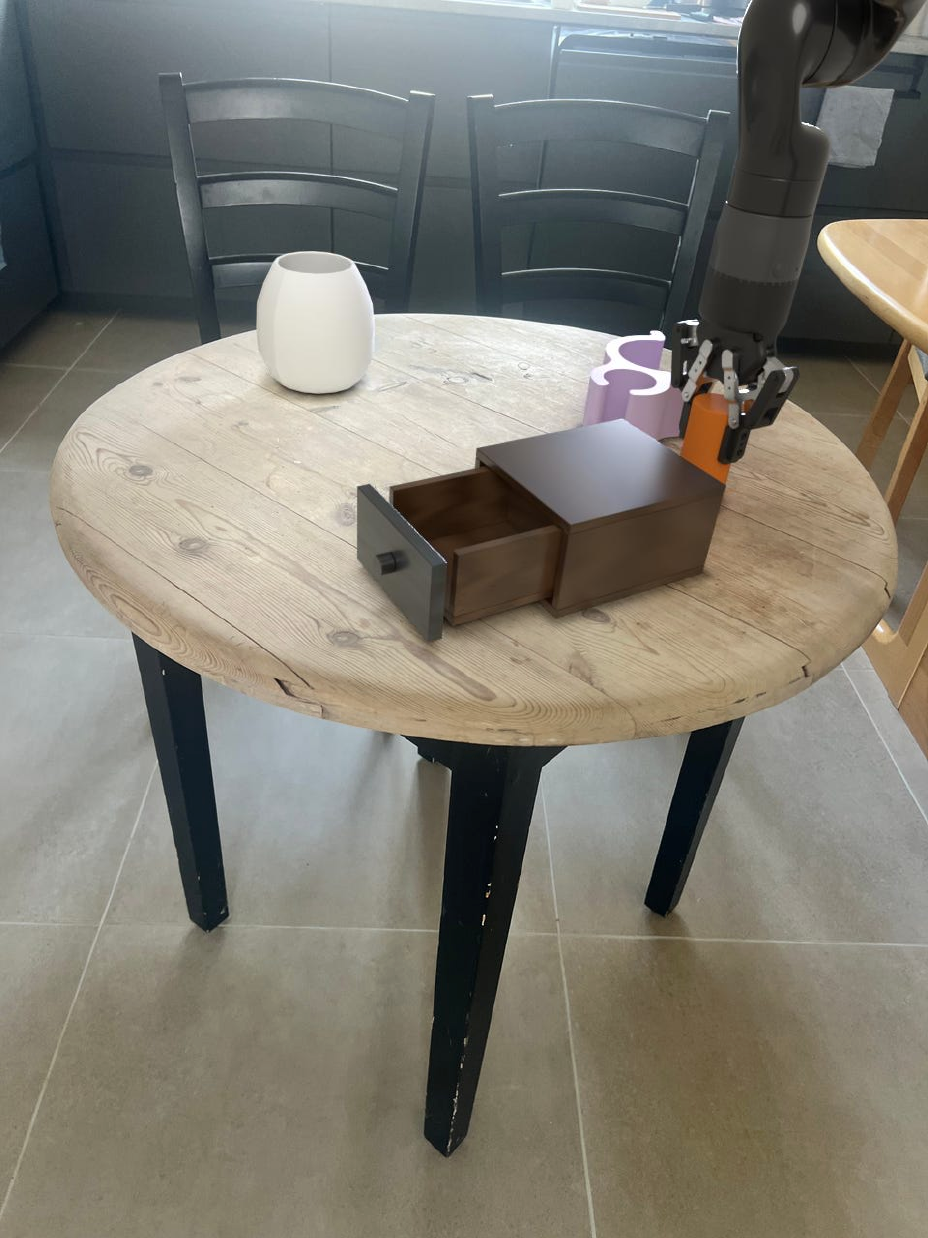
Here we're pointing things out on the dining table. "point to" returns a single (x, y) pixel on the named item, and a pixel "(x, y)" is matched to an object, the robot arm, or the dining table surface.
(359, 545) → the drawer
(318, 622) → the dining table surface
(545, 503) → the cabinet
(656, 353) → the clip
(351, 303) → the white vase
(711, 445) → the roller
